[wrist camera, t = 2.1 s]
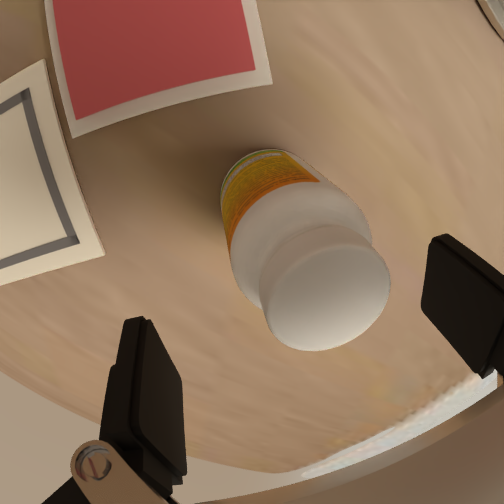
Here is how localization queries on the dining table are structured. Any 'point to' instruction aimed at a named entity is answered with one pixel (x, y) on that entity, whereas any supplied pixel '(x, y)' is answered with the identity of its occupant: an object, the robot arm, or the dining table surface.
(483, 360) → the robot arm
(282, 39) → the dining table surface
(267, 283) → the supplement bottle
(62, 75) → the ink pad
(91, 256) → the marked sheet
